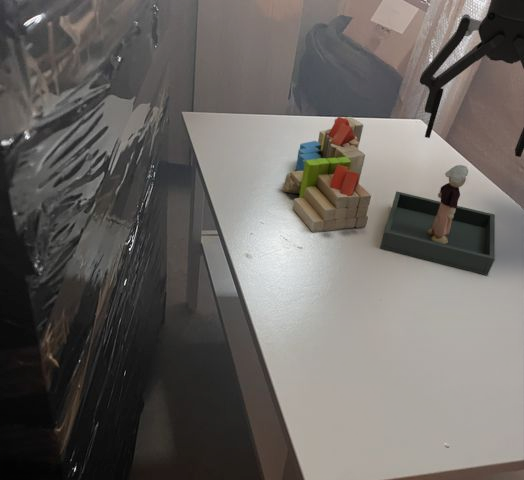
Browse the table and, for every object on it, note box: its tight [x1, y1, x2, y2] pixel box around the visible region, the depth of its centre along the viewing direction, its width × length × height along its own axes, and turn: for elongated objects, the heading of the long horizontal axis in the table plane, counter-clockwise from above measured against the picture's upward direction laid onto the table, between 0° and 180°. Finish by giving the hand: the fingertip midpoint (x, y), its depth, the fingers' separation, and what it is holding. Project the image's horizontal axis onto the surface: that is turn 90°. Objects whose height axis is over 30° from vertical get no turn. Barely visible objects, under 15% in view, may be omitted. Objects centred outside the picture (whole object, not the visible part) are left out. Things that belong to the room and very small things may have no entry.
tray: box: [379, 190, 496, 276], centre depth 99 cm, size 18×16×3 cm
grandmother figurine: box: [428, 164, 469, 244], centre depth 95 cm, size 8×4×13 cm, turn 12°
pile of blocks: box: [282, 116, 372, 233], centre depth 107 cm, size 36×15×11 cm, turn 177°
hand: (472, 144), depth 89 cm, fingers open, 13 cm apart
